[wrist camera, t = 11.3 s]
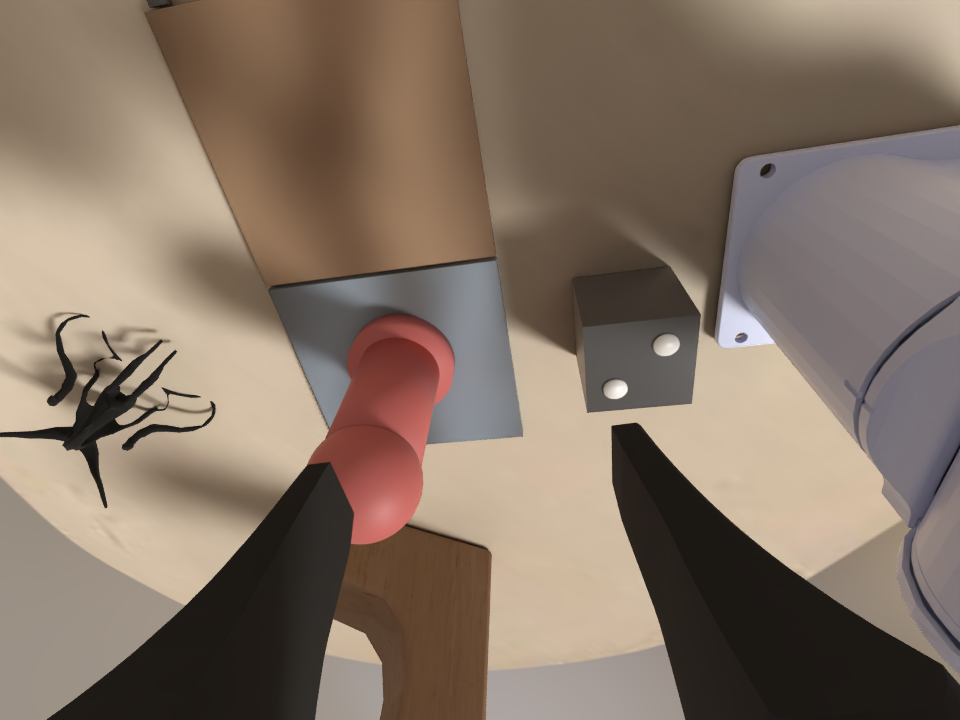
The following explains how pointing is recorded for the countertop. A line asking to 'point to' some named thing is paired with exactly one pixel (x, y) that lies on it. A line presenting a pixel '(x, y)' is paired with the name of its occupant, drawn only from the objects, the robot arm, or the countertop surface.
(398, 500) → the pawn
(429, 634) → the wooden block
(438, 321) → the board
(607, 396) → the die
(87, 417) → the creature
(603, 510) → the countertop surface
